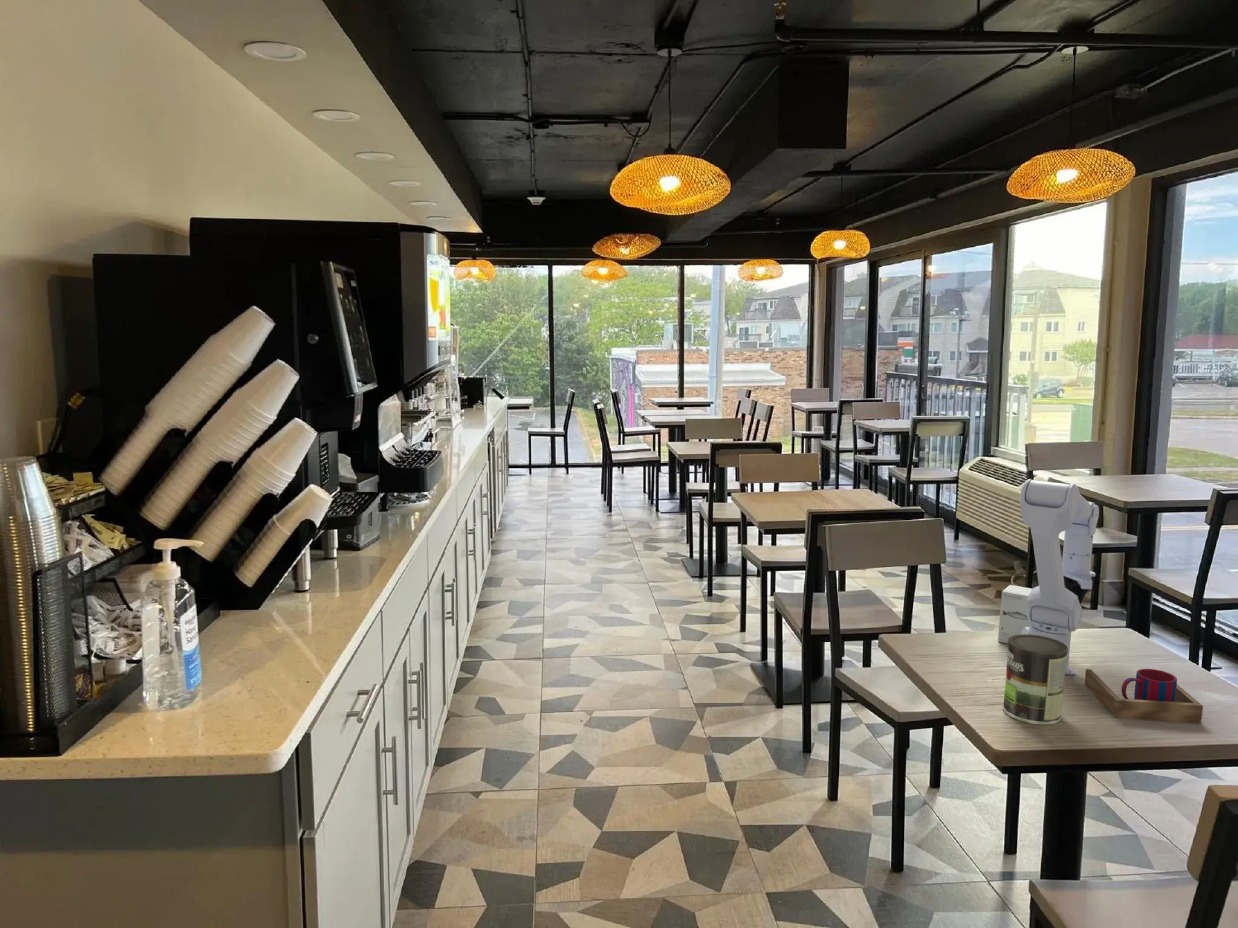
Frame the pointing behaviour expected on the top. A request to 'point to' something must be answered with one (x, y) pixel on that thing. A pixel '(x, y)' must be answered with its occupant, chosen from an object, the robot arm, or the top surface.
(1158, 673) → the mug
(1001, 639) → the supplement box
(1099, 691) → the holder
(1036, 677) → the coffee can
